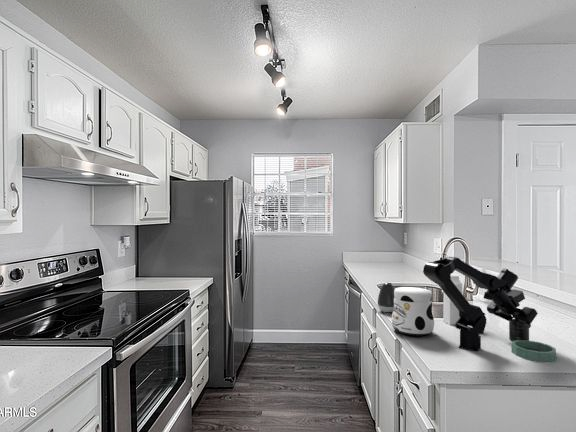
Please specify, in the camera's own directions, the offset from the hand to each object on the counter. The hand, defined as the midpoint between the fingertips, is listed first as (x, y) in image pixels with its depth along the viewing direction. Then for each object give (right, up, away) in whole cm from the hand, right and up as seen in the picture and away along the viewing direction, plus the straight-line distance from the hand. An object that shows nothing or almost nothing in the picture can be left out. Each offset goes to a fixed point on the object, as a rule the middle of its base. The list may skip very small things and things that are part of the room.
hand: (521, 324), depth 147 cm
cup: (-5, -6, -15) cm, 17 cm away
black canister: (-42, -7, +45) cm, 62 cm away
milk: (-17, -7, +25) cm, 31 cm away
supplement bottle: (-1, -7, -1) cm, 7 cm away
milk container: (-41, -6, +10) cm, 42 cm away
